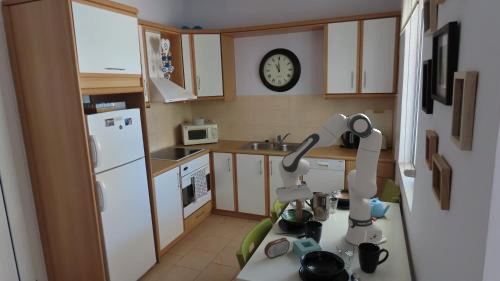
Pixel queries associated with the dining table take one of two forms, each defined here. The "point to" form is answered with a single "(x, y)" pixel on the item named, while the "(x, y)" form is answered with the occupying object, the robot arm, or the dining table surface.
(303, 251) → the teal square-hole block
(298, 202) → the walnut dowel
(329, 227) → the dining table surface
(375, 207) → the teapot
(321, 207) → the coffee box
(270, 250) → the tin
